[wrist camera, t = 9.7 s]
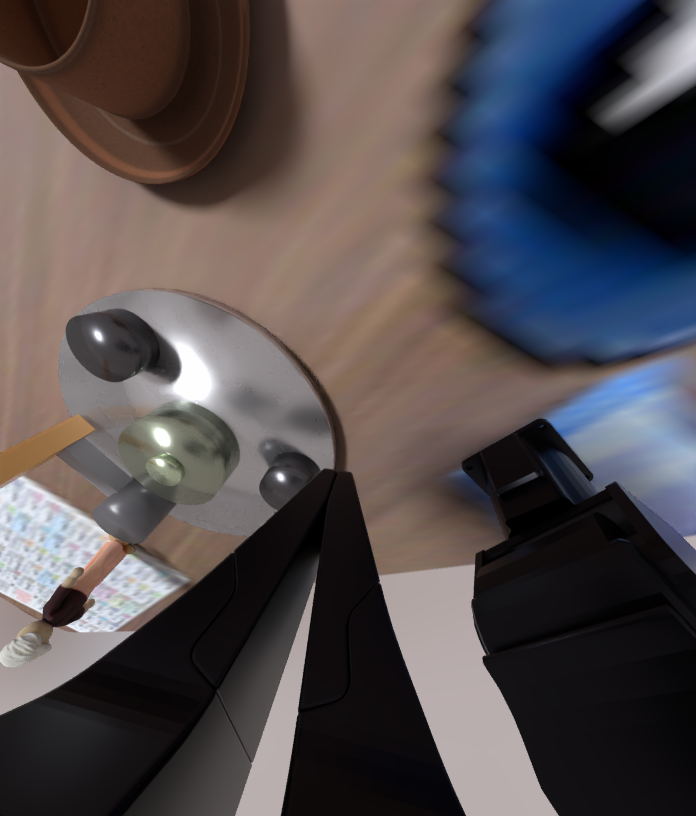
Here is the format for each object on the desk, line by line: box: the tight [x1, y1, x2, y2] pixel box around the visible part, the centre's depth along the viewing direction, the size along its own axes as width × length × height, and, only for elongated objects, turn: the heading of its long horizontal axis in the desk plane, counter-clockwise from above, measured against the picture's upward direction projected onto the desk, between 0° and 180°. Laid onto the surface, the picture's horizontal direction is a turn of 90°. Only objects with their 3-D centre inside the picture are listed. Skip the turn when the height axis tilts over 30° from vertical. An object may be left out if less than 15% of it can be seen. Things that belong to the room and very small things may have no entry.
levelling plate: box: [58, 288, 336, 536], centre depth 23 cm, size 24×24×5 cm
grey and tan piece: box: [0, 414, 177, 544], centre depth 23 cm, size 12×5×8 cm, turn 33°
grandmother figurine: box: [0, 534, 135, 667], centre depth 31 cm, size 8×4×13 cm, turn 176°
